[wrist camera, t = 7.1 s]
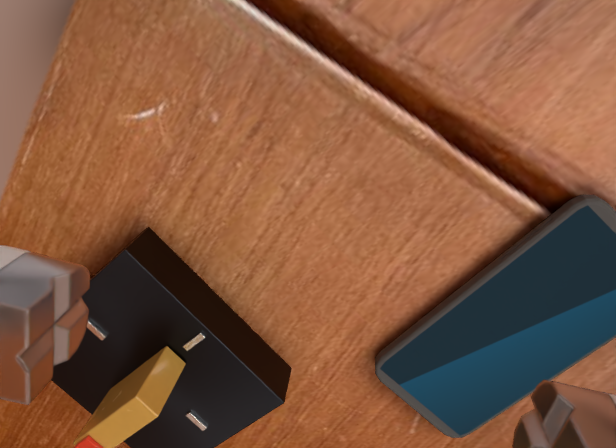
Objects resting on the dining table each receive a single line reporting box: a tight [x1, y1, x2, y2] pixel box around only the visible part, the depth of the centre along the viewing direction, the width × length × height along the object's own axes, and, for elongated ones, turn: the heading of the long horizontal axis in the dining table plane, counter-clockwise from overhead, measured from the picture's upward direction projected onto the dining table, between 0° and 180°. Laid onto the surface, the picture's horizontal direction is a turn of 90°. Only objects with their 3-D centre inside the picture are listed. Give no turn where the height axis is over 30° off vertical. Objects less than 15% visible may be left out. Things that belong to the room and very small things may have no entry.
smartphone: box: [375, 195, 616, 438], centre depth 27 cm, size 8×15×1 cm, turn 138°
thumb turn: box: [73, 346, 186, 448], centre depth 26 cm, size 5×2×4 cm, turn 131°
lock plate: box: [51, 227, 291, 448], centre depth 29 cm, size 12×10×3 cm
